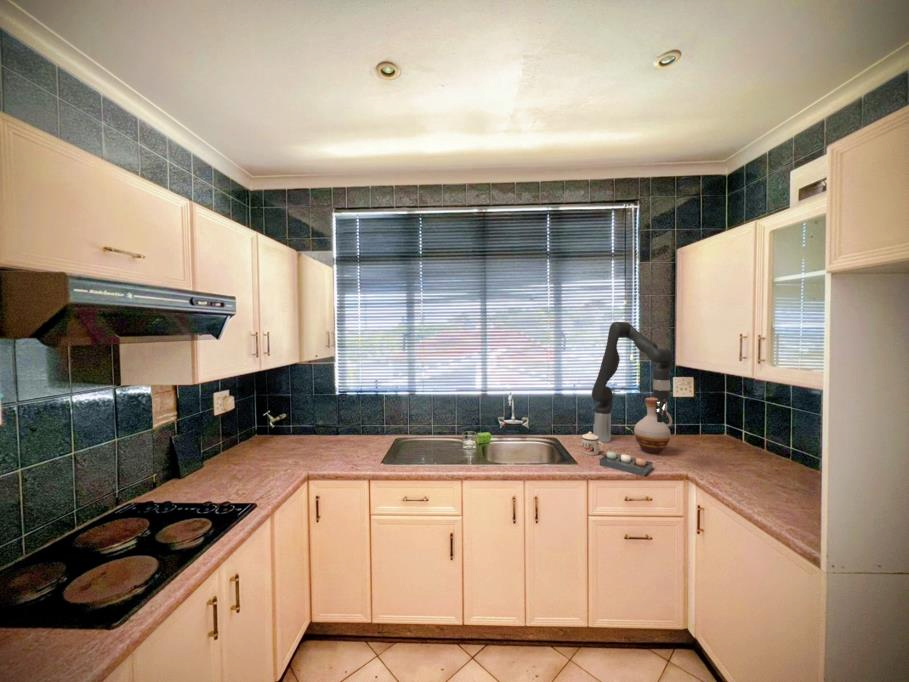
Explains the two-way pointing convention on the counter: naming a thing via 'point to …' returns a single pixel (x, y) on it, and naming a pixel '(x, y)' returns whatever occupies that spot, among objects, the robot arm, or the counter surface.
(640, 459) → the orange rounded piece
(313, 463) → the counter surface
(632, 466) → the panel
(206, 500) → the counter surface
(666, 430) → the jug
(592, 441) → the teacup with lid
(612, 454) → the sage button
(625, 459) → the ivory button
